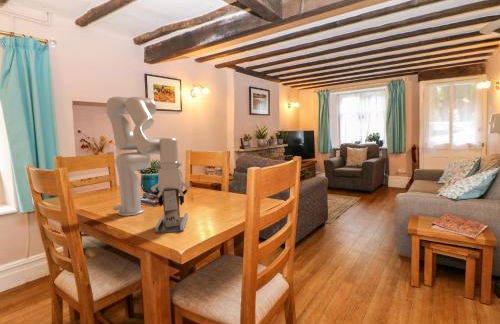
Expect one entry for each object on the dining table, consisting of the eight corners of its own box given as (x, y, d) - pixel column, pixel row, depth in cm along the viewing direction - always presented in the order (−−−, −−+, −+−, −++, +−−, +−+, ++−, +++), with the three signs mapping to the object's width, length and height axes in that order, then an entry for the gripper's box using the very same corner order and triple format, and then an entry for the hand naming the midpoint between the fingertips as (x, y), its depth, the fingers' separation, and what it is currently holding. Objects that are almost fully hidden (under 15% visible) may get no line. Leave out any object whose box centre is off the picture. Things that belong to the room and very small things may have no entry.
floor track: (155, 233, 115) (155, 227, 115) (163, 219, 133) (163, 214, 132) (183, 231, 116) (183, 225, 116) (187, 218, 134) (187, 213, 134)
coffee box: (180, 225, 121) (178, 189, 120) (165, 227, 119) (163, 191, 117) (178, 219, 130) (176, 185, 128) (163, 221, 128) (161, 187, 126)
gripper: (190, 164, 126) (192, 201, 128) (151, 165, 124) (153, 203, 126) (188, 166, 119) (190, 206, 121) (146, 167, 117) (149, 208, 119)
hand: (171, 204), depth 123 cm, fingers open, 8 cm apart
